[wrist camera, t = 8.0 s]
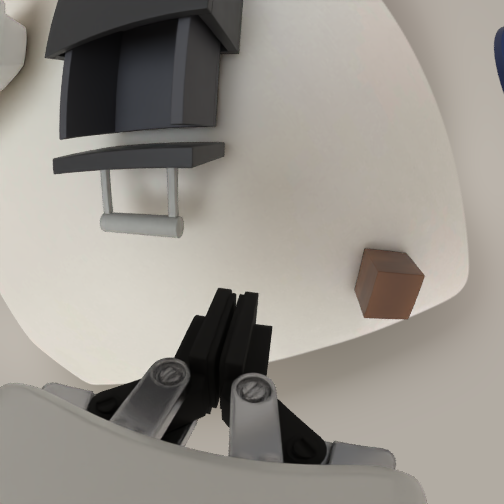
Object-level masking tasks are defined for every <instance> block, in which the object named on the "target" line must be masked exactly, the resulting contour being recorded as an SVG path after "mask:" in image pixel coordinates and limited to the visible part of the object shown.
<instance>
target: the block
mask: <svg viewBox="0 0 504 504" xmlns="http://www.w3.org/2000/svg"><path fill="white" fill-rule="evenodd" d="M423 279H424V274H423V273H422V272H421V270H420V269H419V268H418V267H417V265H416V264H415V263H414V262H413V261H412V259H411V258H410V257H409V256H408V255H407V253H401V252H393V251H384V250H375V249H366V248H365V249H364V254H363V258H362V262H361V266H360V270H359V275H358V278H357V282H356V286H355V293H356V296H357V299H358V301H359V304H360V307H361V310H362V313H363V316H364V318H379V319H408V318H409V316H410V314H411V311H412V309H413V306H414V304H415V301H416V299H417V296H418V293H419V291H420V288H421V285H422V282H423Z"/></svg>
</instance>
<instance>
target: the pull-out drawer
mask: <svg viewBox="0 0 504 504" xmlns="http://www.w3.org/2000/svg"><path fill="white" fill-rule="evenodd" d="M220 48H221V42H220V40H219V39H218V38H217V37H216V35H215V34H214V33H213V32H212V31H211V29H210V28H209V27H208V26H207V25H206V23H205V22H204V21H203V20H202V19H201V18H200V16H199V15H190V16H184V17H178V18H172V19H167V20H162V21H157V22H152V23H148V24H144V25H140V26H136V27H133V28H129V29H126V30H122V31H119V32H116V33H113V34H110V35H107V36H104V37H101V38H98V39H95V40H93V41H90V42H88V43H85V44H83V45H80V46H78V47H75V48H73V49H71V50H69V51H66V53H65V60H64V67H63V75H62V85H61V98H60V129H59V132H60V140H62V139H69V138H76V137H83V136H91V135H100V134H111V133H119V132H128V131H137V130H148V129H162V128H179V127H215V126H216V113H217V93H218V76H219V62H220ZM224 147H225V143H224V142H177V143H153V144H138V145H125V146H115V147H107V148H101V149H96V150H90V151H85V152H80V153H75V154H71V155H66V156H62V157H58V158H54V159H53V171H54V174H62V173H72V172H83V171H96V170H100V173H101V187H102V198H103V208H104V214H103V215H102V216H101V219H100V227H101V229H102V230H103V231H105V232H116V233H127V234H139V235H150V236H161V237H172V238H180V237H181V236H182V234H183V230H184V221H183V218H182V217H181V216H178V215H179V213H178V168H193V167H196V166H198V165H201V164H204V163H207V162H209V161H212V160H215V159H218V158H221V157H224ZM136 168H167V186H168V213H169V216H168V215H151V214H133V213H112V212H113V207H112V196H111V183H110V170H113V169H136Z"/></svg>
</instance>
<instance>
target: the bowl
mask: <svg viewBox="0 0 504 504" xmlns="http://www.w3.org/2000/svg"><path fill="white" fill-rule="evenodd" d="M26 44H27V33H26V28H25V26H23V25H22V24H20V23H19V22H17V21H16V20H14V19H13V18H11V17H10V16H8V15H7V14H5V3H4V1H3V0H0V91H2V90H3V89H4V88H5V87H6V86H7V85H8V84H9V83H10V81H11V80H12V79H13V78H14V77H15V76H16V75H17V74H18V72H19V71H20V69H21V68H22V67H23V65H24V60H25V54H26Z"/></svg>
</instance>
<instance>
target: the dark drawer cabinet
mask: <svg viewBox="0 0 504 504" xmlns="http://www.w3.org/2000/svg"><path fill="white" fill-rule="evenodd" d="M242 7H243V0H58V3H57V6H56V9H55V13H54V17H53V20H52V24H51V28H50V33H49V37H48V42H47V47H46V53H45V58H50V59H58V60H65V53H66V51H69V50H71V49H73V48H75V47H78V46H80V45H83V44H85V43H88V42H90V41H93V40H95V39H98V38H101V37H104V36H107V35H110V34H113V33H116V32H119V31H122V30H126V29H129V28H133V27H136V26H140V25H144V24H148V23H152V22H157V21H162V20H167V19H172V18H178V17H184V16H190V15H199V16H200V18H201V19H202V20H203V21H204V22H205V23H206V25H207V26H208V27H209V28H210V29H211V31H212V32H213V33H214V34H215V35H216V37H217V38H218V39H219V40H220V42H221V48H220V54H239V47H240V33H241V20H242Z"/></svg>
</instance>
